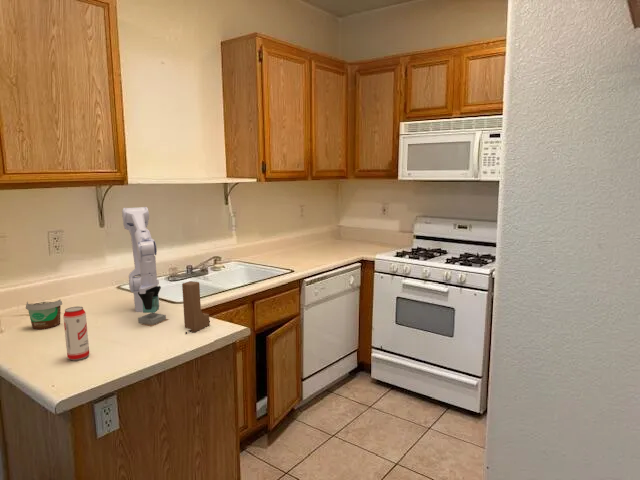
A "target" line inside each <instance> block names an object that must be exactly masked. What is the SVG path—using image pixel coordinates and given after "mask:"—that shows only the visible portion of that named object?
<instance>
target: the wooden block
mask: <svg viewBox="0 0 640 480" xmlns="http://www.w3.org/2000/svg"><path fill="white" fill-rule="evenodd" d="M181 287H182V289H181V290H182V304H183V306H182V307H183V319H184V320H183V322H184V329H188V330H187V332H191V333H196V332H198V331H200V330H203V329H205V328H206V327H208V326H210V324H211V323H210V314H209V313H205V312H202V307H201V306H202V305H201V289H200V287H201V286H200V282H199V281H192V280H191V281H190V280H189V281H187V282H183V283H182V285H181Z"/></svg>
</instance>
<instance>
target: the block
mask: <svg viewBox="0 0 640 480" xmlns="http://www.w3.org/2000/svg"><path fill="white" fill-rule="evenodd" d="M142 302H143V301H142ZM159 310H160V301H159V302H158V297H153V299H152V309H151V310H146V309H145V307H144V304H143V312H142V313H143V314H147V313H148V314H150V313H156V312H157V311H159Z"/></svg>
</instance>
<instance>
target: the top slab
mask: <svg viewBox="0 0 640 480" xmlns="http://www.w3.org/2000/svg"><path fill="white" fill-rule="evenodd" d="M166 319H167V317H166V314H161V313H156V312H155V313H148V314H147V313H146V314H144V315H142V316H139V317H138V318H137V320H138V321H137V322H138V324H147V325H154V324H157V323H159V322H162V321H164V320H166ZM164 322H165V321H164ZM162 323H163V322H162ZM159 324H160V323H159ZM157 325H158V324H157ZM154 326H155V325H154Z"/></svg>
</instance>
